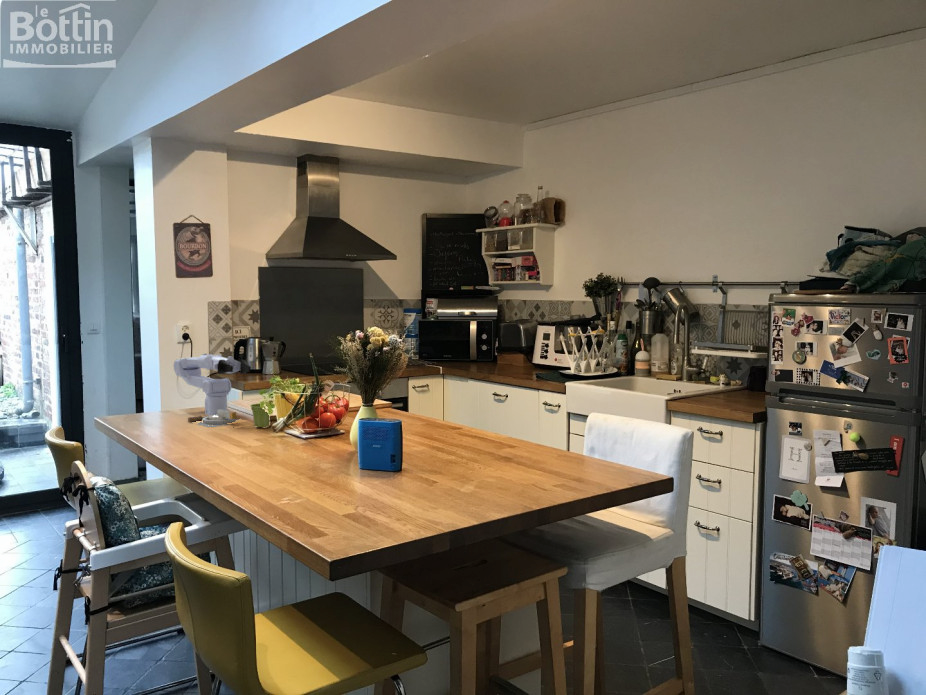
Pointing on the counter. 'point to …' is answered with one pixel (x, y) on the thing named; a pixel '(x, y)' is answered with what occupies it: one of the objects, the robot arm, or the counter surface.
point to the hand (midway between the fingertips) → (240, 369)
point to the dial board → (216, 422)
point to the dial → (223, 415)
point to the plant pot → (259, 416)
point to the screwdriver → (196, 418)
